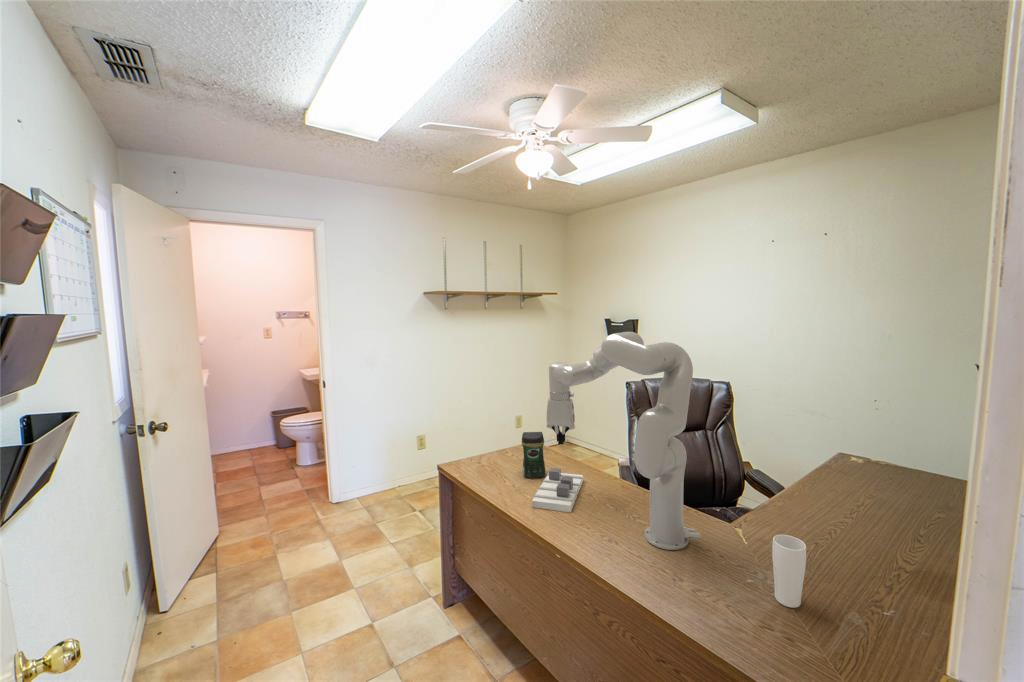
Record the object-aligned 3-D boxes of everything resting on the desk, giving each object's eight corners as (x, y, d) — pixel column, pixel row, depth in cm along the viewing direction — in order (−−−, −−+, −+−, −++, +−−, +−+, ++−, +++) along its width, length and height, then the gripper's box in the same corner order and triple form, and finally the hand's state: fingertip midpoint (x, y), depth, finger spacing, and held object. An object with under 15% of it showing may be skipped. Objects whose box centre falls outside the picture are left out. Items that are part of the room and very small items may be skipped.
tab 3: (569, 493, 155) (569, 484, 155) (567, 497, 152) (567, 488, 151) (558, 491, 156) (558, 483, 156) (556, 496, 153) (556, 487, 153)
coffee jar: (545, 470, 183) (543, 429, 181) (545, 478, 175) (544, 435, 173) (522, 471, 183) (521, 429, 181) (522, 479, 175) (520, 435, 173)
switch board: (583, 481, 171) (583, 473, 171) (570, 512, 147) (570, 503, 146) (549, 477, 176) (549, 470, 175) (532, 507, 151) (531, 498, 151)
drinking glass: (791, 590, 105) (793, 533, 104) (811, 610, 98) (813, 549, 97) (764, 592, 105) (766, 534, 103) (783, 612, 98) (785, 551, 97)
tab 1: (561, 476, 169) (560, 468, 169) (559, 480, 166) (558, 472, 165) (551, 475, 170) (551, 467, 170) (549, 479, 167) (548, 471, 167)
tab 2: (573, 485, 161) (572, 477, 161) (571, 489, 158) (571, 480, 157) (562, 484, 162) (562, 475, 162) (560, 488, 159) (560, 479, 159)
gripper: (581, 394, 159) (582, 441, 161) (542, 393, 164) (544, 439, 166) (578, 398, 152) (579, 448, 154) (537, 397, 157) (539, 445, 159)
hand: (561, 443), depth 160 cm, fingers closed
